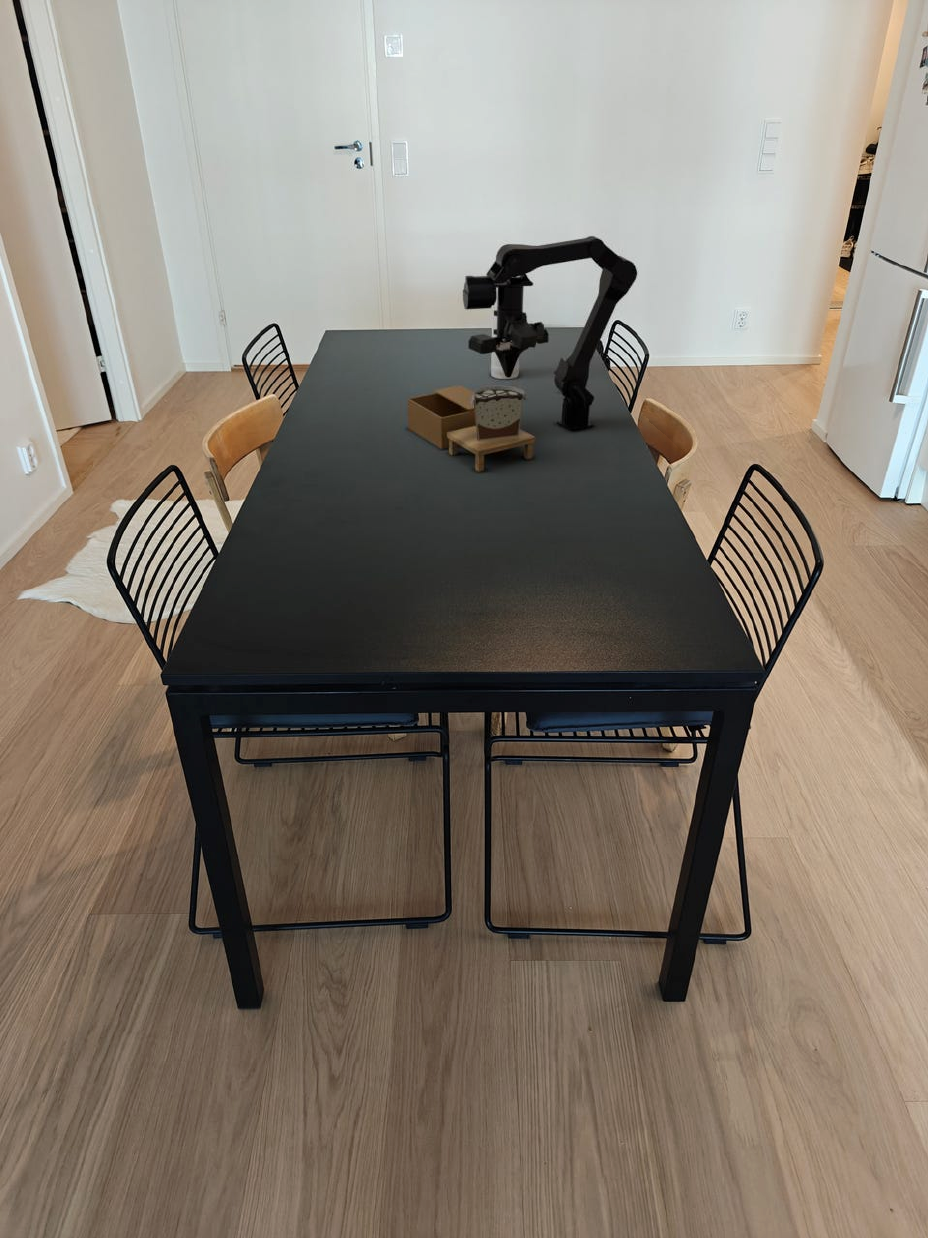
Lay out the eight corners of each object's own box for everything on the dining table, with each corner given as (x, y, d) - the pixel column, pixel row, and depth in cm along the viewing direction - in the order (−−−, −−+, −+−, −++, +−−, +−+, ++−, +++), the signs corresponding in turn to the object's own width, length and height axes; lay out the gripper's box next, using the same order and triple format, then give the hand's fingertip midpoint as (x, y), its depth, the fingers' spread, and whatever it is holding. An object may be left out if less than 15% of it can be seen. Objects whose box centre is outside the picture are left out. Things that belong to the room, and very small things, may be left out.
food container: (515, 426, 190) (517, 382, 184) (525, 435, 185) (526, 391, 180) (463, 431, 187) (463, 387, 182) (471, 441, 182) (472, 396, 177)
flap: (459, 386, 205) (459, 384, 205) (495, 404, 194) (495, 402, 194) (434, 391, 202) (434, 390, 202) (469, 410, 191) (469, 408, 190)
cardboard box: (460, 417, 209) (460, 387, 205) (495, 436, 198) (495, 406, 194) (408, 428, 203) (407, 398, 199) (441, 449, 192) (441, 418, 188)
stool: (534, 458, 187) (535, 437, 184) (478, 472, 180) (478, 450, 178) (501, 440, 196) (502, 419, 194) (447, 453, 190) (446, 432, 187)
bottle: (516, 380, 234) (520, 265, 217) (488, 378, 235) (490, 264, 218) (520, 371, 240) (524, 259, 224) (493, 370, 242) (495, 258, 225)
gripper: (495, 320, 176) (494, 393, 185) (565, 308, 184) (561, 379, 193) (467, 309, 184) (467, 380, 192) (535, 299, 192) (532, 367, 201)
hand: (508, 376), depth 194 cm, fingers closed
